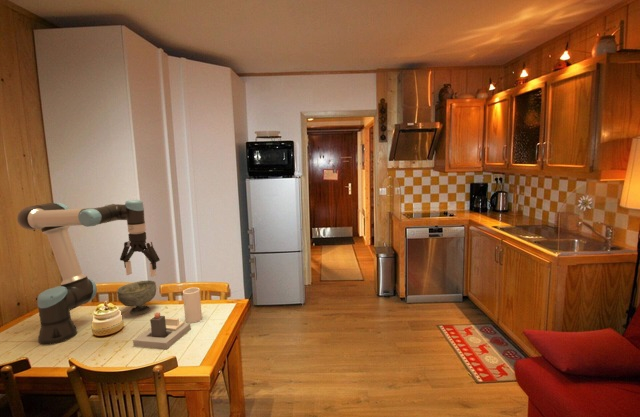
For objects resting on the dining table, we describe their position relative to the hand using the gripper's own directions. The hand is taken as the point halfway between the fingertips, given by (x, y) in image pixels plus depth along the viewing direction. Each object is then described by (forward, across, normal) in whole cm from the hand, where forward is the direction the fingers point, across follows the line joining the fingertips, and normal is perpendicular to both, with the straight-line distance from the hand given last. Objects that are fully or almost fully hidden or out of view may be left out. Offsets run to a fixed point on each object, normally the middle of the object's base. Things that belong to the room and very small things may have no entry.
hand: (141, 275), depth 172 cm
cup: (+28, +18, +14) cm, 36 cm away
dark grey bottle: (+28, +14, -8) cm, 32 cm away
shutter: (+25, +14, -1) cm, 28 cm away
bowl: (+28, -19, +18) cm, 39 cm away
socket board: (+28, +14, -6) cm, 32 cm away
